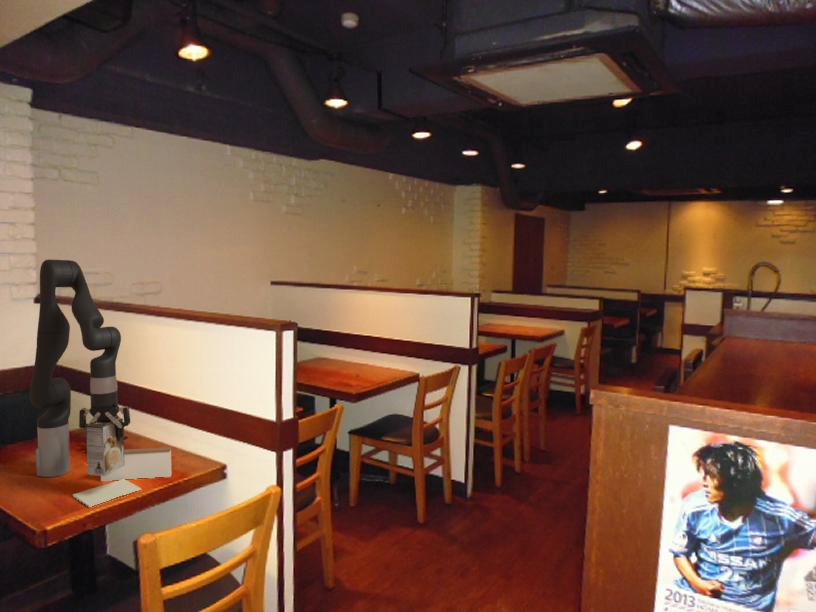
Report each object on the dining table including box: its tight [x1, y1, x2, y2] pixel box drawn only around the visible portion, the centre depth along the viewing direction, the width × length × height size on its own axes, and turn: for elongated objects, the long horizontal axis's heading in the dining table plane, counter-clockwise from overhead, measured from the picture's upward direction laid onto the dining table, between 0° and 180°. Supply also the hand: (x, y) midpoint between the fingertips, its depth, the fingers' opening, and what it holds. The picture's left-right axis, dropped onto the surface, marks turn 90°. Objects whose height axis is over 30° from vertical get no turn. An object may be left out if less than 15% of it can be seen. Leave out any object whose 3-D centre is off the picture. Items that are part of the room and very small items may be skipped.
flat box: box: [100, 446, 172, 482], centre depth 190 cm, size 22×2×10 cm, turn 103°
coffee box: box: [85, 417, 125, 477], centre depth 176 cm, size 9×6×16 cm
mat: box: [72, 479, 142, 508], centre depth 178 cm, size 16×12×1 cm
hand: (105, 439), depth 176 cm, fingers closed on coffee box, 8 cm apart
